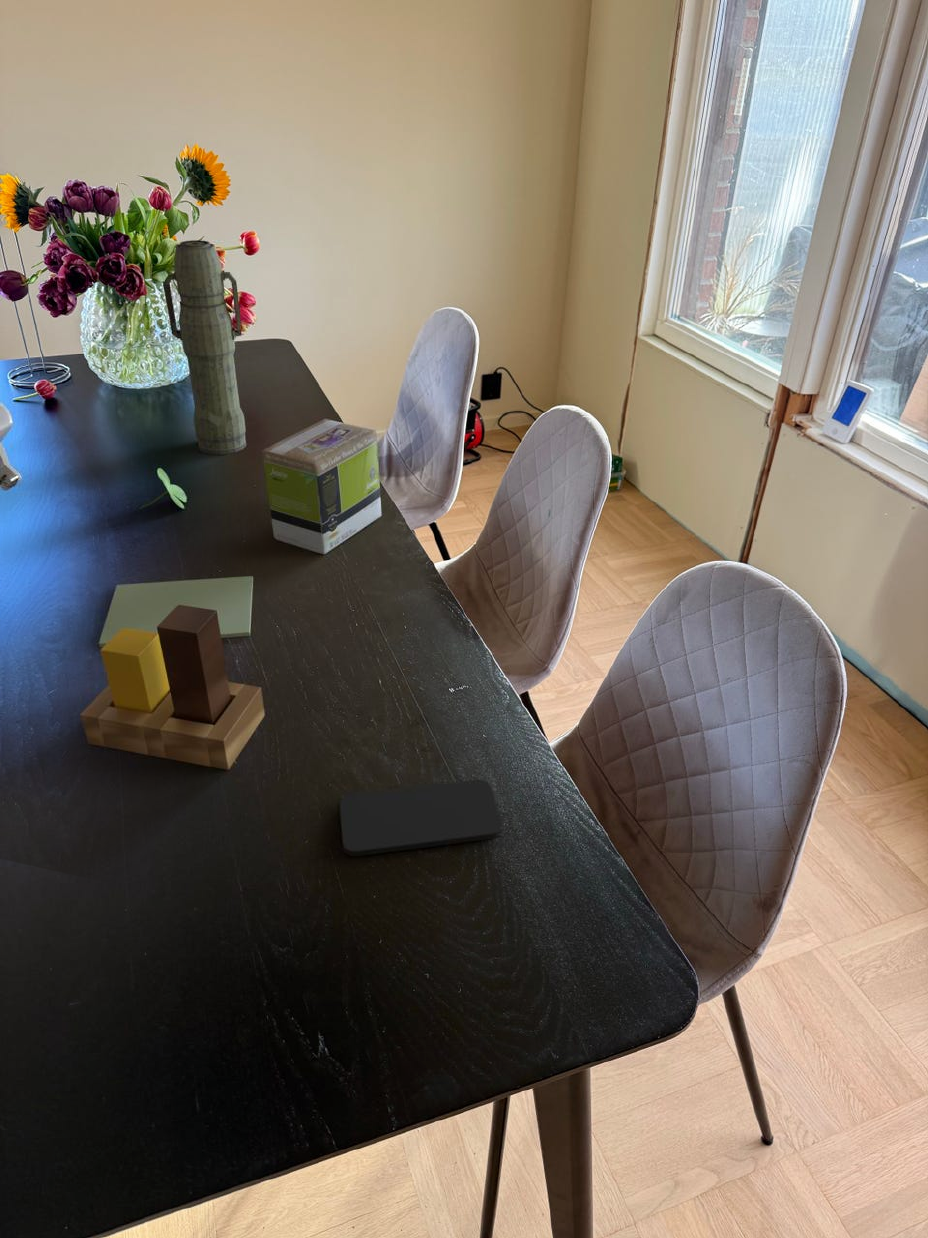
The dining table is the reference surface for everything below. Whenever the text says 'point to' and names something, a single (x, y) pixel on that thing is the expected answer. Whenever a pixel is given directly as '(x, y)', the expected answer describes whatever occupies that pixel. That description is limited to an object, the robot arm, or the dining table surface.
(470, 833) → the phone
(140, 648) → the yellow peg
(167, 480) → the seedling
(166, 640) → the walnut peg
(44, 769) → the dining table surface
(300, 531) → the tea box
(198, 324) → the thermos
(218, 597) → the mat
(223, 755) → the stand
